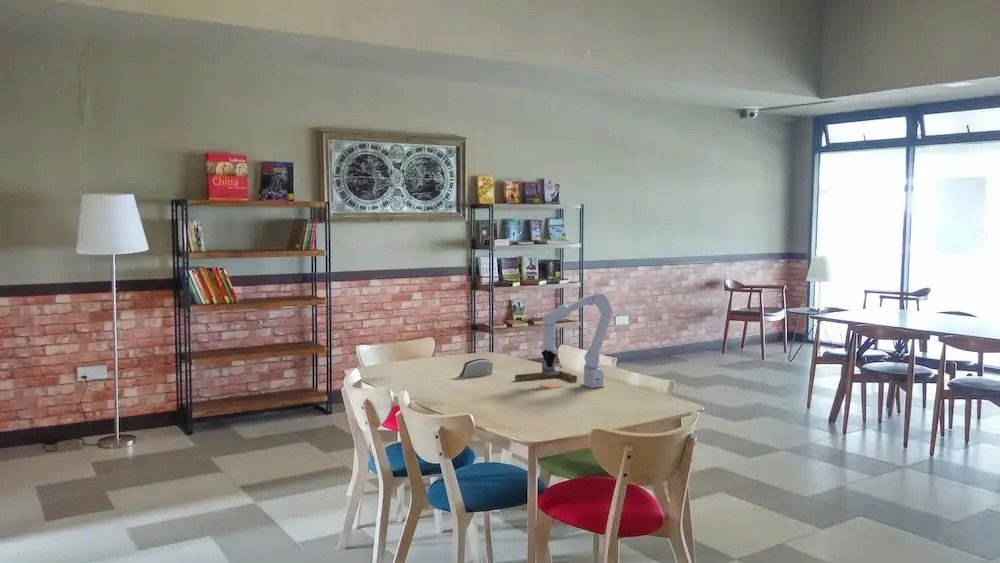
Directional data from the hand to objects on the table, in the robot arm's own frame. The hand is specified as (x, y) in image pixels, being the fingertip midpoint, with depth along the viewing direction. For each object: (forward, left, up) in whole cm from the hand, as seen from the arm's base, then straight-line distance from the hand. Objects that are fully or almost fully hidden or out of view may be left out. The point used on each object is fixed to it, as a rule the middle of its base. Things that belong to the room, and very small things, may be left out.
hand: (548, 366), depth 387 cm
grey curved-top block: (+36, +21, -9) cm, 43 cm away
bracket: (-2, 0, -3) cm, 4 cm away
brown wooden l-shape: (+9, -3, -9) cm, 13 cm away
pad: (-2, 0, -9) cm, 9 cm away
